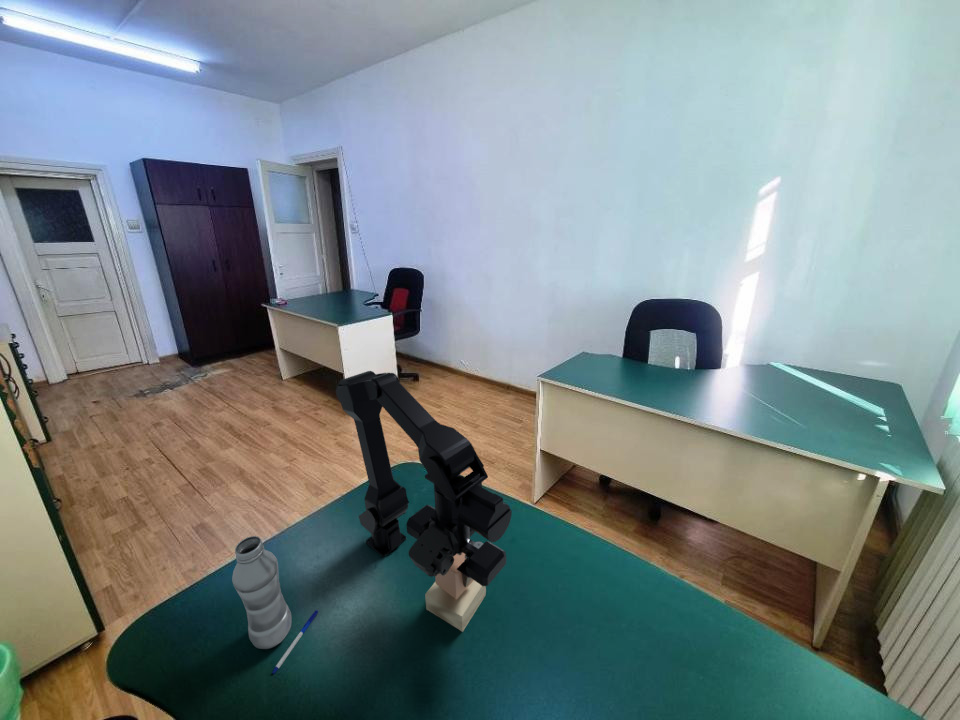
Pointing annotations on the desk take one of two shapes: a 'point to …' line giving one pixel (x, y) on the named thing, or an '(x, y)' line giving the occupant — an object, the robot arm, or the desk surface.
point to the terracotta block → (453, 578)
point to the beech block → (455, 604)
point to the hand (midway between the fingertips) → (455, 576)
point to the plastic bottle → (261, 593)
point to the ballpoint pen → (295, 641)
